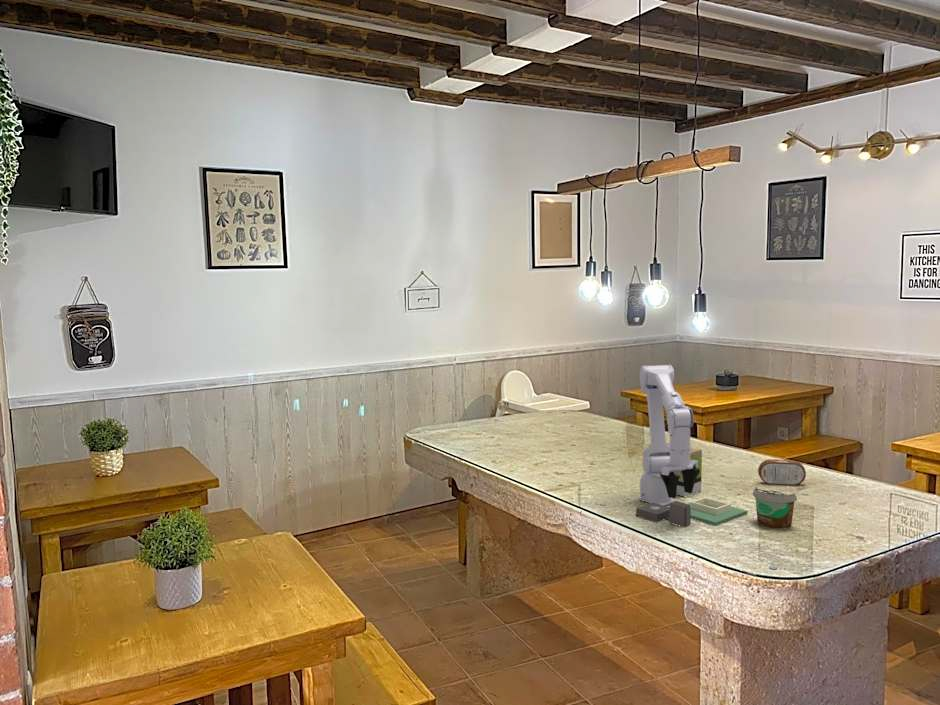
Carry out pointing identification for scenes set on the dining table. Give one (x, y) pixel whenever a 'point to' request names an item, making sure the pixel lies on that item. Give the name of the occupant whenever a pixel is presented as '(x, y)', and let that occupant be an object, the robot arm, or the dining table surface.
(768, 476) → the tin
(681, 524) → the plug
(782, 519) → the food container
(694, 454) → the tea box
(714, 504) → the board
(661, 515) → the grey flat block
